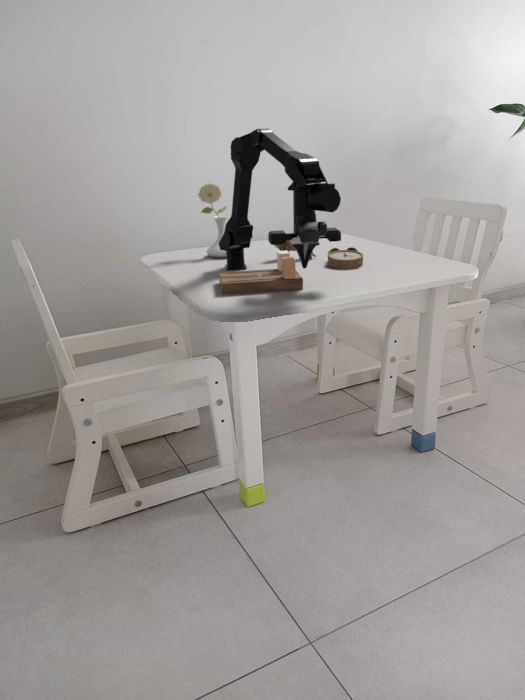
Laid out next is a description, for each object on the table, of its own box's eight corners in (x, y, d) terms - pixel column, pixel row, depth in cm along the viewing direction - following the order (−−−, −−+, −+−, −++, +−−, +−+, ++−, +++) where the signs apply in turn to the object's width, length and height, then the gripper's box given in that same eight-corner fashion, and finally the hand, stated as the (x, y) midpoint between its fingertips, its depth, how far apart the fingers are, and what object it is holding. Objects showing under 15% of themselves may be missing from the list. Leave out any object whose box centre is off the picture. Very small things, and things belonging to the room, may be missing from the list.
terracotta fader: (282, 275, 140) (281, 257, 138) (292, 274, 140) (292, 256, 138) (284, 279, 136) (284, 260, 134) (295, 278, 136) (295, 260, 135)
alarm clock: (330, 261, 156) (325, 243, 169) (329, 275, 159) (324, 257, 172) (366, 259, 156) (358, 242, 169) (365, 274, 159) (357, 256, 171)
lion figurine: (274, 261, 171) (273, 234, 167) (273, 258, 176) (272, 232, 172) (317, 259, 171) (317, 232, 168) (315, 256, 176) (315, 230, 173)
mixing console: (220, 282, 148) (219, 272, 146) (294, 277, 150) (294, 267, 149) (222, 294, 136) (221, 283, 134) (302, 289, 138) (302, 278, 137)
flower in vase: (241, 252, 186) (237, 181, 177) (235, 259, 176) (230, 184, 166) (206, 252, 188) (201, 182, 179) (198, 259, 178) (192, 185, 168)
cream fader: (277, 268, 148) (276, 251, 146) (287, 267, 148) (287, 250, 146) (279, 271, 144) (279, 253, 143) (289, 270, 145) (289, 253, 143)
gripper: (273, 215, 123) (275, 277, 130) (347, 211, 125) (345, 272, 131) (267, 209, 134) (268, 267, 140) (336, 205, 136) (334, 263, 142)
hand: (304, 267), depth 138 cm, fingers closed
